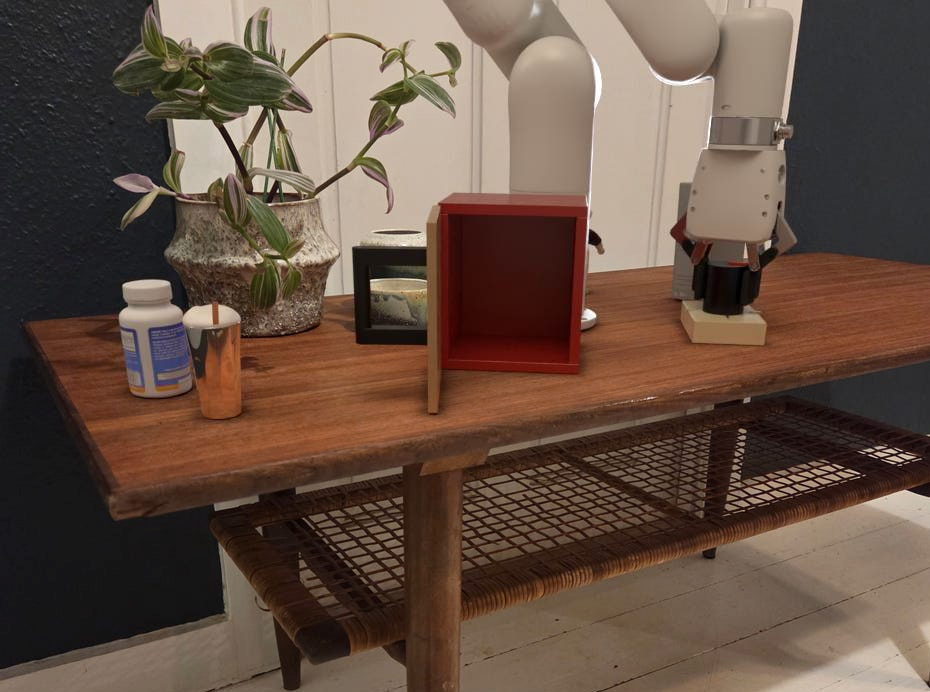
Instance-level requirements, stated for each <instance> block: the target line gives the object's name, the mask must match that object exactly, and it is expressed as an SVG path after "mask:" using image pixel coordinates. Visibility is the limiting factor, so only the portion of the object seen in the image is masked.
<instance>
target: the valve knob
mask: <svg viewBox="0 0 930 692" xmlns="http://www.w3.org/2000/svg"><path fill="white" fill-rule="evenodd" d="M748 265H749V263H748V262H745V261H743V262H737V261H710V262H707V266H706V275H705V284H704V293H703V302H702V311H704V312H707V313H711V314H717V315H738V314H742V313H743V311H744V306H741V304H740V296H741V288H742V280H743V273H744V271H746V270H747V269H748Z"/></svg>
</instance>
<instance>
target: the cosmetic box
mask: <svg viewBox="0 0 930 692" xmlns="http://www.w3.org/2000/svg"><path fill="white" fill-rule="evenodd" d="M692 182H693V181H683V182H682V181H681V182H680V183H679V184H678V185H679V188H678V201H677V215H676V223H677V222H678V221H679V219H680V218H681V217H682V216H683V215H684V214H685V213H686V211H687V210H688V204H689V197H690V192H691V187H692ZM690 237H691V238H692V239H694V240H695V241H696V242H697V240H698V239H697V238H694V237H692V236H690ZM674 243H675V244H674V256H673V257H674V258H673V267H672V280H671V281H672V283H671V293H670V294H671V296H670V297H671V298H672V299H675V300H682V301H703V299H700V300H694V291H692V280H693V270H694V265H693V264H692V263H691V261H690V258H689V256H688V255H687V254H686V252H685V251H684V250H683V248H682V246H681V245H680V244H679V243H678V242H677V241H676V240H675V242H674ZM745 247H746V243H735V242H724V241H715V243H714V246H713V248H712V251H711V253H710V256H709V262H710V261H737V262H744V257H745V249H746V248H745Z"/></svg>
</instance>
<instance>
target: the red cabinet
mask: <svg viewBox="0 0 930 692" xmlns="http://www.w3.org/2000/svg"><path fill="white" fill-rule="evenodd" d="M437 205H441V353H442V369H441V370H461V371H486V372H487V371H491V372H515V373H516V372H517V373H518V372H519V373H539V374H540V373H541V374H543V373H544V374H566V375H578V374H579V370H580V369H579V367H580V351H581V333H582V332H581V331H582V330H581V318H582V301H583V283H584V266H585V249H586V231H587V214H588V204H587V199H586V195H546V194H509V193H495V192H494V193H493V192H492V193H491V192H452V193H451V194H449V195H448V196H446V197H445V198H443V199H442V200H440V201H438V202H437Z"/></svg>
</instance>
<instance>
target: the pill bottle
mask: <svg viewBox="0 0 930 692" xmlns="http://www.w3.org/2000/svg"><path fill="white" fill-rule="evenodd" d="M121 288H122V299H124V302H125V303H127V307H125V308H123V309H121V311H120V312H119V315H118V323H119V331H120V336H121V343H122V349H123V356H124V360H125V361H124V362H125V369H126V377H127V381H128V388H129V390H130V392H131V394H132V395H133V396H137V397H140V398H145V399H147V398H148V399H149V398H150V399H163V398H169V397H170V398H171V397H175V396H179V395H182V394H184V393H187V392H188V391H190V390H191V389H192V387H193V381H192V373H191V365H190V355H189V348H188V344H187V339H186V335H185V330H184V326H183V322H182V319H183V316H184V313H183V310H182V309H181V308H180V307H179V306H177V305H175V304H172V302H171V300H172V299H173V290H172V285H171V282H170V281H168V280H164V279H140V280H139V279H138V280H133V281H128V282H125V283H123V284H122V287H121Z"/></svg>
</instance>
